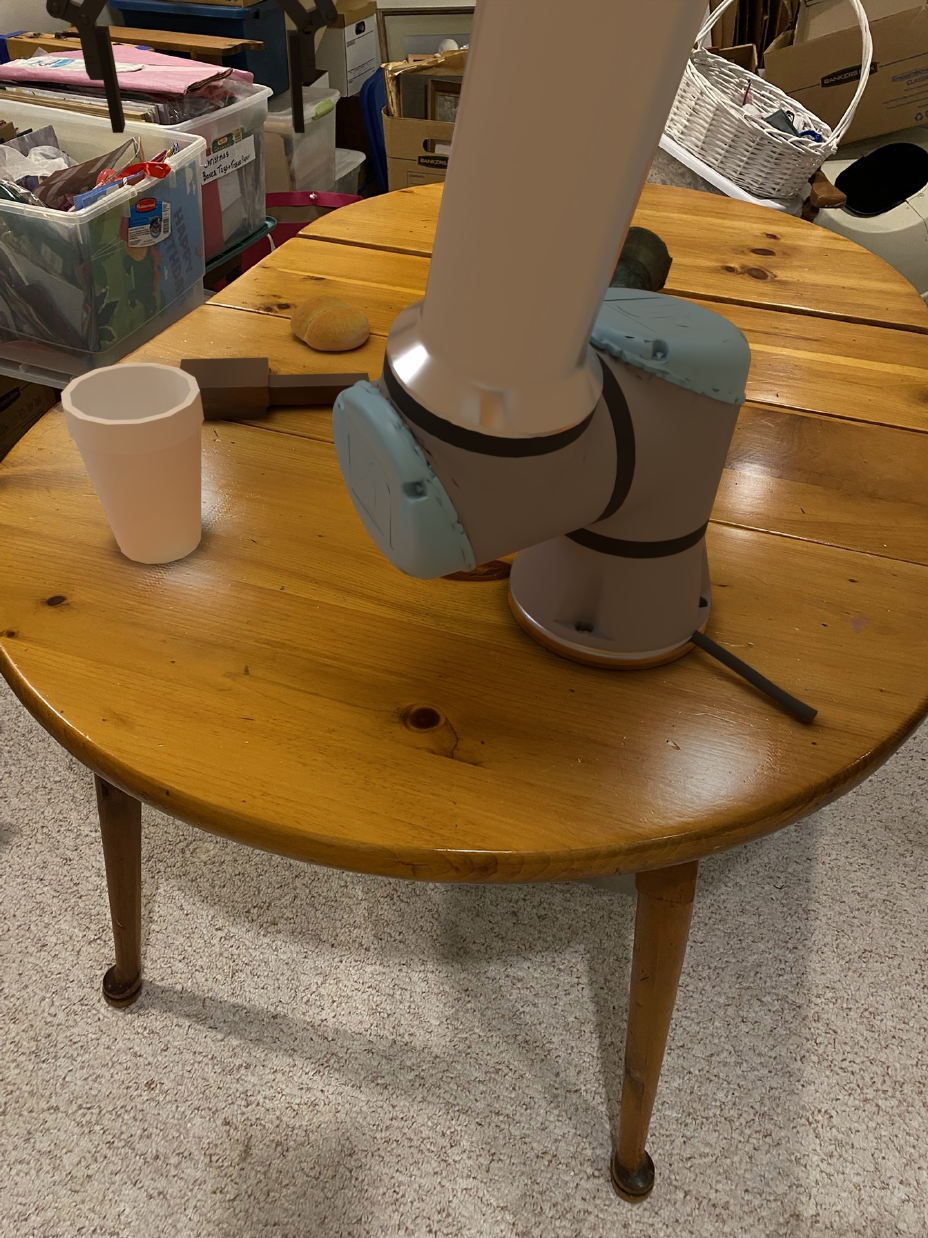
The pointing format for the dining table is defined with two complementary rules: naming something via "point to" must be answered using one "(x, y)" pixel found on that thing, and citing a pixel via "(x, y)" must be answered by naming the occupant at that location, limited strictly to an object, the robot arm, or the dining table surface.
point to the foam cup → (142, 454)
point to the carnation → (642, 262)
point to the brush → (259, 387)
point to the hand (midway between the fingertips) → (210, 129)
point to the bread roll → (330, 324)
